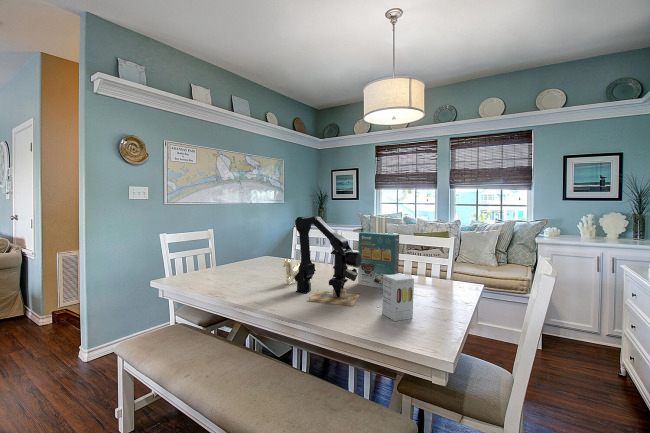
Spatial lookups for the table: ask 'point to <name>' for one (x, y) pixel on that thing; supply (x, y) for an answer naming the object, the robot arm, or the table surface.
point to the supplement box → (398, 296)
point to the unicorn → (291, 270)
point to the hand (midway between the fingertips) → (339, 295)
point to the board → (328, 298)
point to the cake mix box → (377, 257)
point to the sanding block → (341, 293)
